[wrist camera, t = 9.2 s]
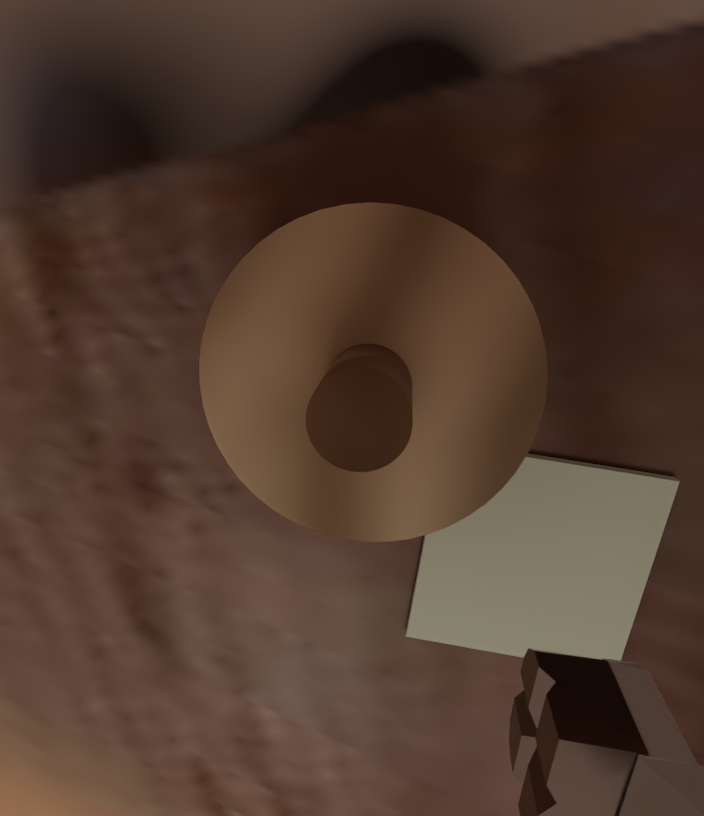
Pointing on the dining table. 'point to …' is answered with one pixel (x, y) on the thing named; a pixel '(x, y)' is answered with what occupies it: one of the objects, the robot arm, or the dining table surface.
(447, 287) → the lid
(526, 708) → the robot arm
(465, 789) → the dining table surface
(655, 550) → the mat
